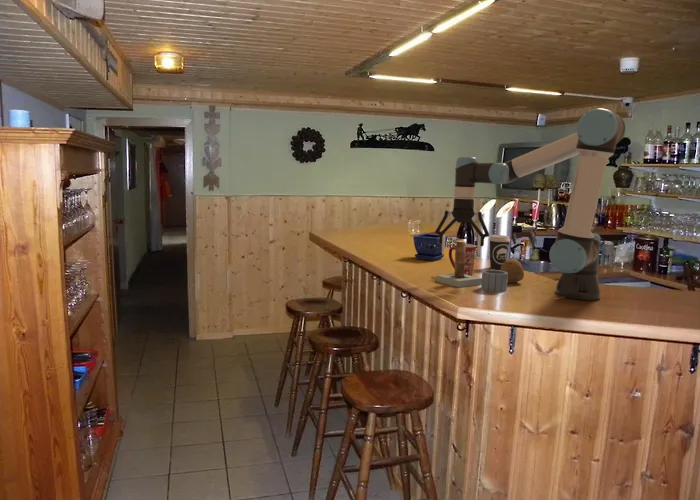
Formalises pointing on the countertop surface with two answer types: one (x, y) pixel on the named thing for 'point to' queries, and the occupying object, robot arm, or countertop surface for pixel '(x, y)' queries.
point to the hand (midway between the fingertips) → (460, 253)
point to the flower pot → (428, 246)
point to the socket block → (459, 280)
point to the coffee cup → (498, 250)
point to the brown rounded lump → (513, 270)
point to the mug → (469, 258)
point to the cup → (494, 280)
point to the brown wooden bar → (460, 260)
